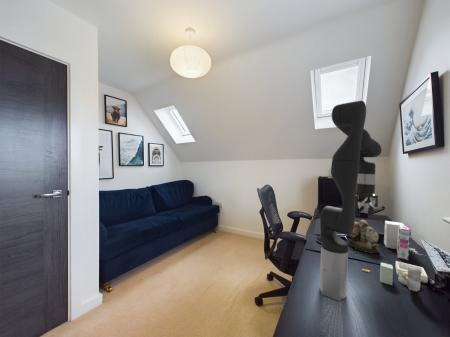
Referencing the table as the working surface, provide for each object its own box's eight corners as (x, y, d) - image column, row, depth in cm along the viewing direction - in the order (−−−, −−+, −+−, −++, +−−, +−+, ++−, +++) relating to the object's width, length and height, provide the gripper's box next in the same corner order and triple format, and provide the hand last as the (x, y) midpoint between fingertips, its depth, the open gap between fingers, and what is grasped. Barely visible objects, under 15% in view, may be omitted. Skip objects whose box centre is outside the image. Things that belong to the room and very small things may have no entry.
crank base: (418, 282, 86) (418, 278, 86) (421, 290, 80) (422, 285, 80) (362, 267, 98) (362, 263, 98) (361, 273, 92) (362, 268, 92)
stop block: (392, 285, 84) (393, 268, 83) (380, 281, 86) (381, 265, 86) (391, 281, 87) (392, 265, 87) (380, 277, 89) (380, 262, 89)
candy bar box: (409, 261, 106) (411, 230, 106) (397, 258, 109) (398, 228, 109) (408, 254, 115) (409, 225, 114) (396, 251, 118) (397, 224, 117)
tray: (427, 283, 85) (427, 276, 85) (397, 275, 91) (397, 268, 91) (422, 273, 93) (423, 267, 93) (395, 266, 99) (395, 260, 99)
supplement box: (401, 246, 126) (403, 222, 126) (405, 251, 119) (406, 226, 118) (383, 242, 131) (384, 220, 131) (385, 247, 123) (386, 223, 123)
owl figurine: (341, 244, 126) (342, 217, 126) (350, 241, 132) (351, 215, 132) (375, 256, 111) (376, 225, 111) (383, 251, 117) (384, 222, 117)
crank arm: (400, 273, 89) (401, 255, 88) (416, 277, 86) (417, 258, 85) (405, 290, 76) (406, 269, 76) (423, 295, 73) (424, 273, 73)
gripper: (361, 183, 93) (359, 217, 94) (384, 184, 97) (382, 217, 97) (347, 182, 101) (346, 214, 101) (369, 182, 105) (367, 213, 105)
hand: (364, 215), depth 99 cm, fingers open, 8 cm apart
